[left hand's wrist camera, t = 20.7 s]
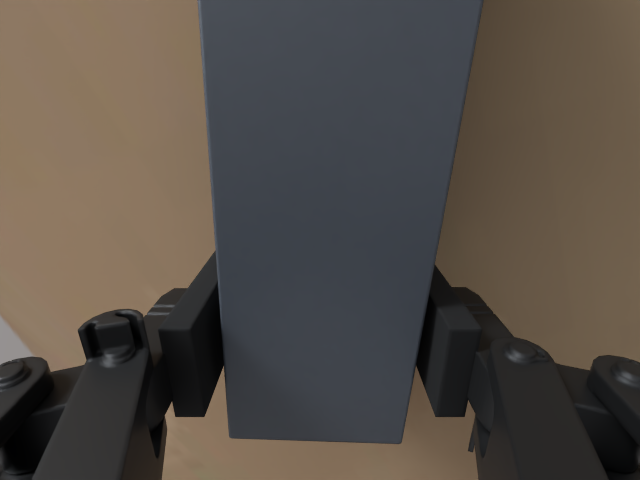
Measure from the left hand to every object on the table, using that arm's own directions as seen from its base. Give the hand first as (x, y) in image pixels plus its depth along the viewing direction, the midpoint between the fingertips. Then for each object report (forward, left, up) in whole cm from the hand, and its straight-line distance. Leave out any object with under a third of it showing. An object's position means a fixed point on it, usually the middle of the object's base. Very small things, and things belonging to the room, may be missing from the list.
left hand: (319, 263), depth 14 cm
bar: (+8, -2, -3) cm, 9 cm away
